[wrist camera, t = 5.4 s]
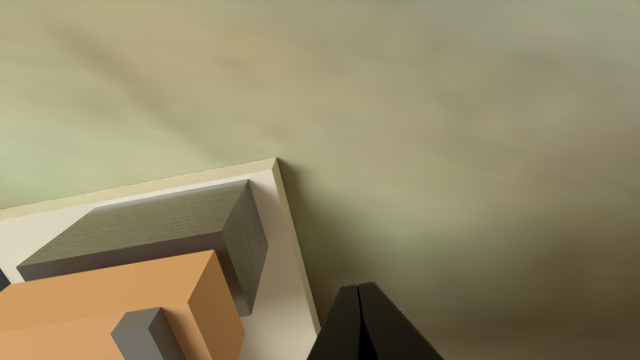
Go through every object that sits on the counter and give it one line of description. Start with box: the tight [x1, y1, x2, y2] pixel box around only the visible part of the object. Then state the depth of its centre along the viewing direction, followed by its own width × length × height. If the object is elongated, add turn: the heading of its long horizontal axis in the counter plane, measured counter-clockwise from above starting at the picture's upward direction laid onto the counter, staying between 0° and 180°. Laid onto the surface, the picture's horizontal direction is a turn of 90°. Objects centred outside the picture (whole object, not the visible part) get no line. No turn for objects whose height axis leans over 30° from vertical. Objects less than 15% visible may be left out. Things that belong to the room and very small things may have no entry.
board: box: [0, 157, 321, 360], centre depth 18 cm, size 19×18×2 cm
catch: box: [0, 250, 245, 360], centre depth 9 cm, size 6×3×3 cm, turn 101°
